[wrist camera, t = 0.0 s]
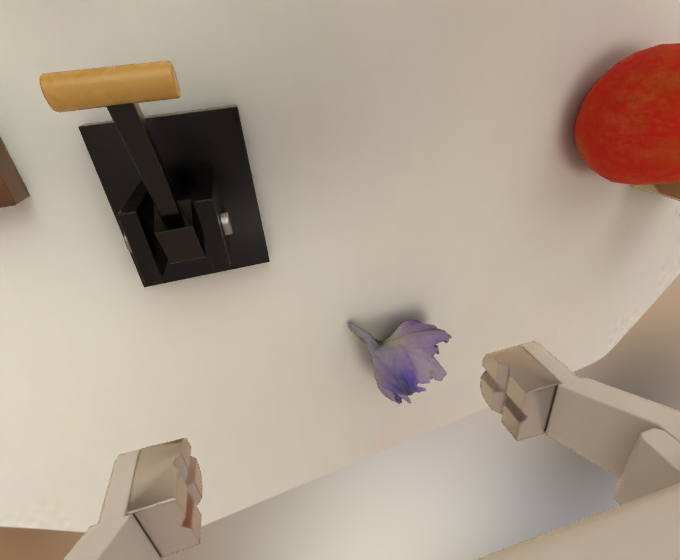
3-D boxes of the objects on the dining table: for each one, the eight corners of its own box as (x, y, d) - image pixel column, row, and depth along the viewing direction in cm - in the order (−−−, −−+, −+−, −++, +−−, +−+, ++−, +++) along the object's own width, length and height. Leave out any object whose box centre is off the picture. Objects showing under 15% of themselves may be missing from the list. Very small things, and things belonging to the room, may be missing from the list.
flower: (327, 398, 34) (438, 431, 33) (352, 304, 34) (463, 335, 34) (335, 377, 43) (422, 402, 43) (355, 303, 44) (442, 327, 43)
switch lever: (43, 61, 16) (33, 91, 15) (169, 48, 17) (171, 76, 16) (146, 240, 25) (146, 269, 24) (224, 226, 26) (228, 253, 25)
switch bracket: (84, 124, 26) (28, 148, 18) (236, 104, 27) (242, 119, 20) (146, 279, 32) (124, 345, 24) (268, 255, 34) (281, 309, 26)
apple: (685, 71, 36) (842, 73, 27) (616, 185, 40) (732, 220, 31) (607, 24, 32) (761, 9, 23) (540, 157, 36) (647, 187, 27)
